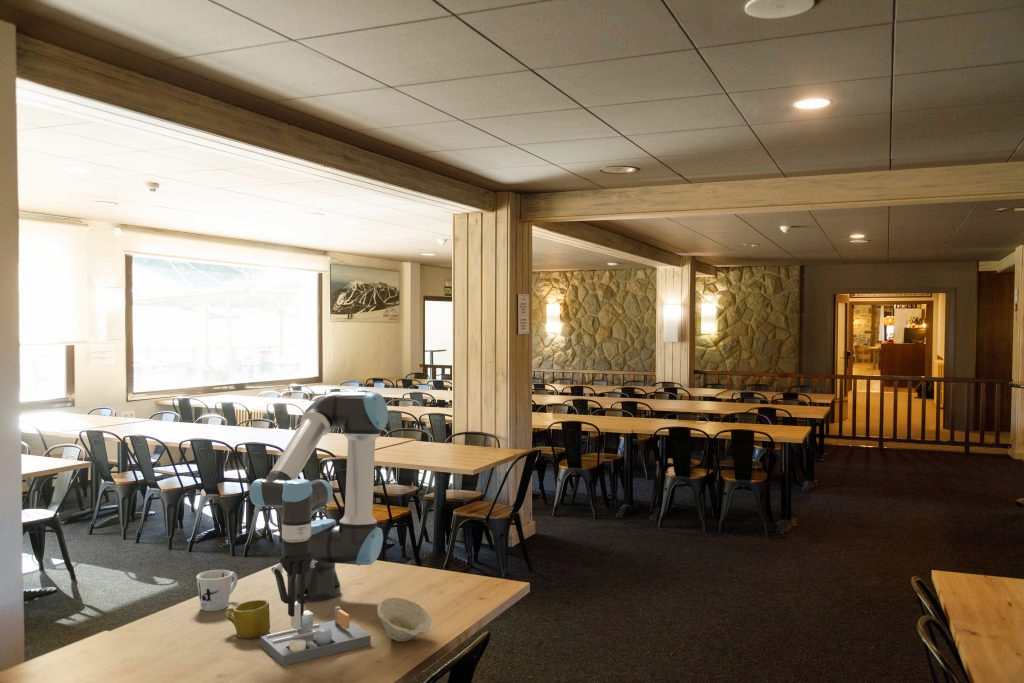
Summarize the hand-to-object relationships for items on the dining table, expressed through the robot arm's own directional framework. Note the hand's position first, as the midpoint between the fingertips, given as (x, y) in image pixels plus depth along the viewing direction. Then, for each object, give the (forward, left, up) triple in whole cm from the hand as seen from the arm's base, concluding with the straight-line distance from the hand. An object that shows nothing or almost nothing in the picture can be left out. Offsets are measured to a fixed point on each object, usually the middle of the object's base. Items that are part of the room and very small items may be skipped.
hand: (295, 627), depth 210 cm
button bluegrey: (+9, +4, -2) cm, 10 cm away
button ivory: (+9, -3, -4) cm, 10 cm away
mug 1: (-43, -7, -5) cm, 44 cm away
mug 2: (-15, -8, -5) cm, 18 cm away
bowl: (+14, +25, -5) cm, 29 cm away
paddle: (+3, +12, -2) cm, 12 cm away
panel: (+4, +4, -4) cm, 7 cm away
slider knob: (0, +3, -2) cm, 3 cm away
